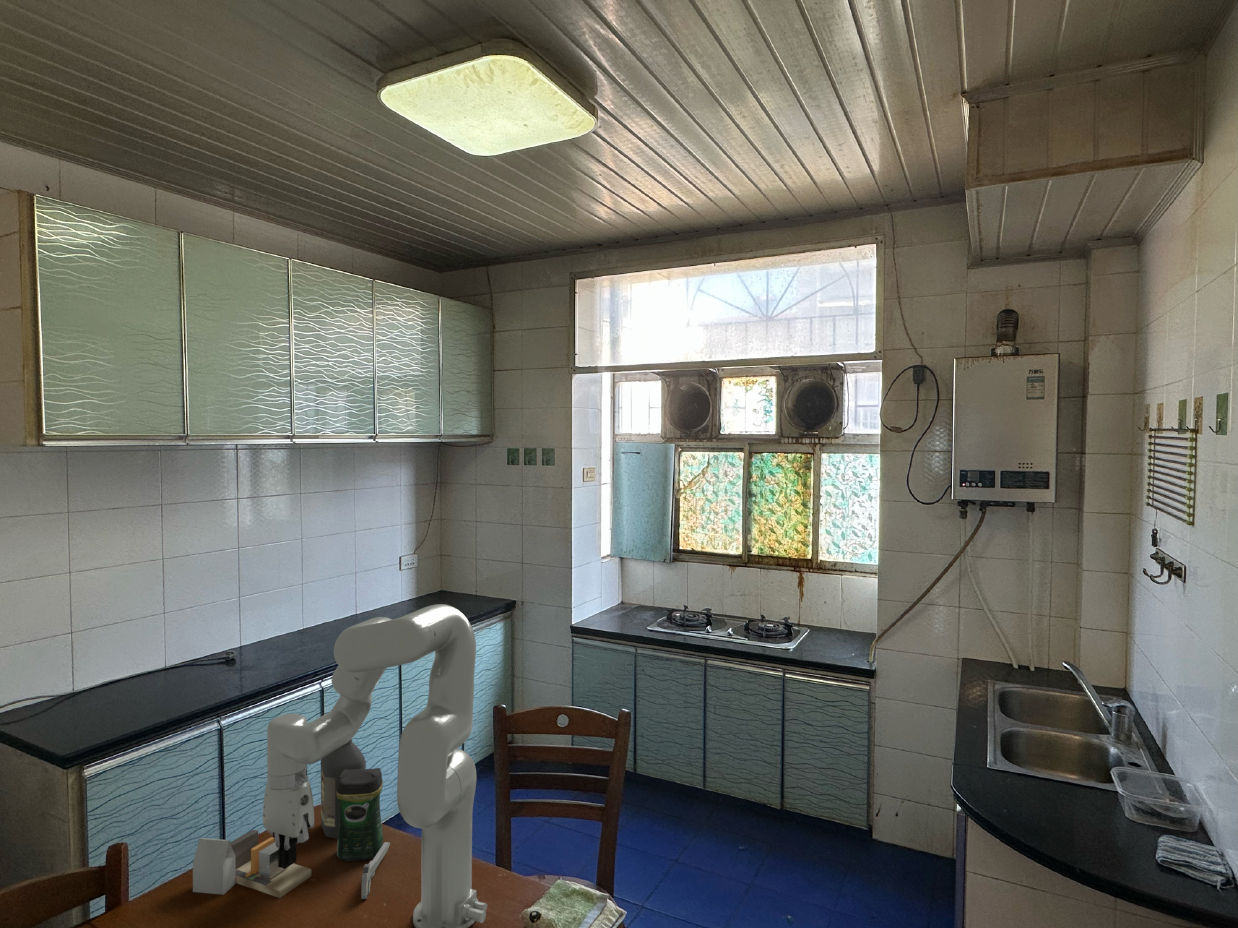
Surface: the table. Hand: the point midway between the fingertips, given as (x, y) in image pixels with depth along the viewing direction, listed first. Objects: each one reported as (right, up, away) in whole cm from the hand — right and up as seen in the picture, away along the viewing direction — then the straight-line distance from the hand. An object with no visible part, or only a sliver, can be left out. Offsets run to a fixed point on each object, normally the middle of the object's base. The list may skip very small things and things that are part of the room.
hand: (287, 864), depth 146 cm
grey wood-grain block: (-3, -2, +1) cm, 4 cm away
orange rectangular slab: (-7, -2, +2) cm, 7 cm away
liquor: (+3, -4, +22) cm, 23 cm away
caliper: (+17, -5, +5) cm, 18 cm away
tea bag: (-14, -4, -1) cm, 15 cm away
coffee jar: (+11, -4, +12) cm, 17 cm away
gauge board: (-5, -4, +2) cm, 7 cm away
